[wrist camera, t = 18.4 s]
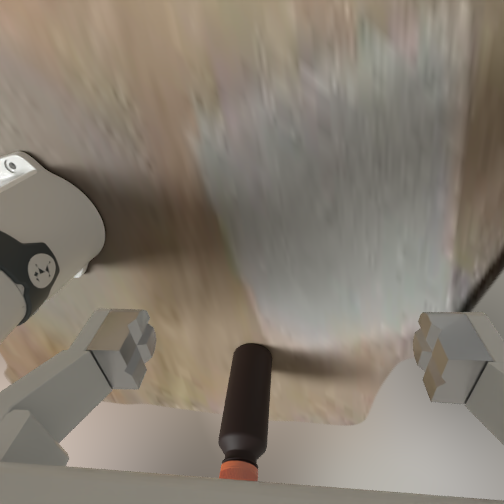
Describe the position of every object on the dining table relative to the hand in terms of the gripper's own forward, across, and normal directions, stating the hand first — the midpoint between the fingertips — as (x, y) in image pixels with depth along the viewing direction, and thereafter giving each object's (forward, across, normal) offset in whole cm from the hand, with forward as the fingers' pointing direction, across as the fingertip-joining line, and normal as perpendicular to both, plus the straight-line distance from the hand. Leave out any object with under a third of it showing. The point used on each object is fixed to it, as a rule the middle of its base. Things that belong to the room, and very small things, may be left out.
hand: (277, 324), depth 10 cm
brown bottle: (+29, +7, +40) cm, 50 cm away
